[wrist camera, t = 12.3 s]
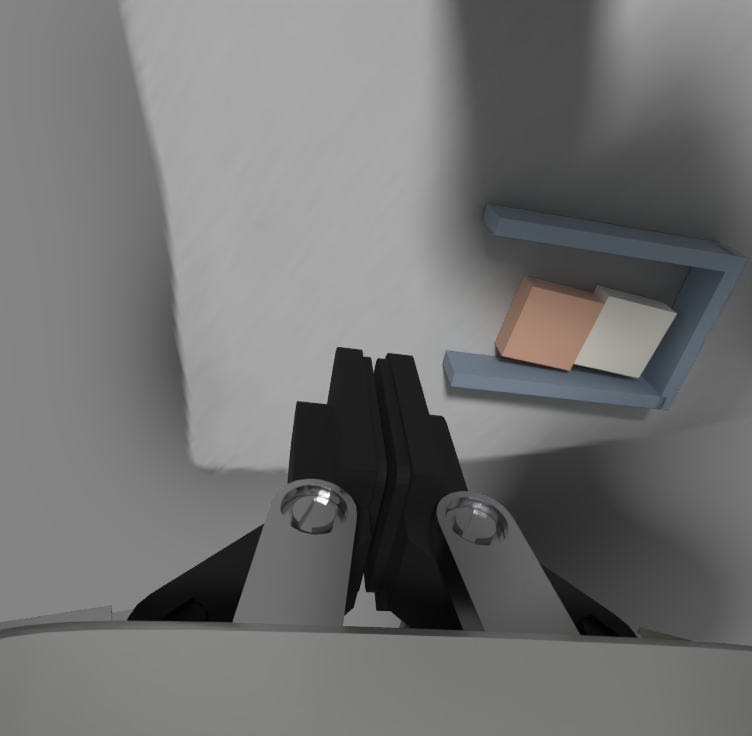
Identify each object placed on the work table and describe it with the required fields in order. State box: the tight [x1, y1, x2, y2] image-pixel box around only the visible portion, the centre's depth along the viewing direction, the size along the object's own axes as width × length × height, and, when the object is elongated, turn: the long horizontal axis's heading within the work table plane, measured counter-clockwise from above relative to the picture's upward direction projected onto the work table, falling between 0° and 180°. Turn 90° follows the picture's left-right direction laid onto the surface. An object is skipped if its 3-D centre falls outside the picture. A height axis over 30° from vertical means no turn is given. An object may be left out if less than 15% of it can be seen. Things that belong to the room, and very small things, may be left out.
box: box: [443, 204, 749, 410], centre depth 43 cm, size 13×19×4 cm
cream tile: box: [574, 285, 677, 378], centre depth 45 cm, size 6×6×2 cm
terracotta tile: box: [495, 275, 605, 371], centre depth 44 cm, size 6×6×2 cm
